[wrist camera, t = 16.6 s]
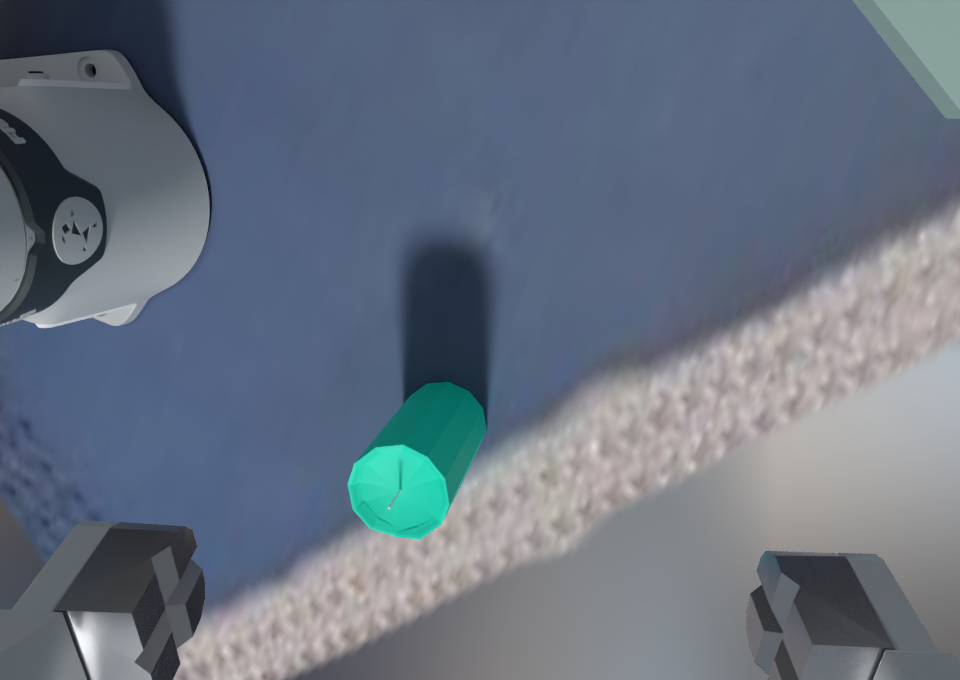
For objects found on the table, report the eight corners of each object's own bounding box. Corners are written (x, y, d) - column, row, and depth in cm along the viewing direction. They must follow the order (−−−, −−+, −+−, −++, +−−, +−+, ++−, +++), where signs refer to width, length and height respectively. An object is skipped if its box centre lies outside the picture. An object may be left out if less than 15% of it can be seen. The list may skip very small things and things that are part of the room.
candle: (387, 425, 52) (317, 511, 40) (434, 364, 50) (373, 436, 38) (454, 476, 52) (403, 576, 41) (504, 417, 50) (464, 505, 38)
